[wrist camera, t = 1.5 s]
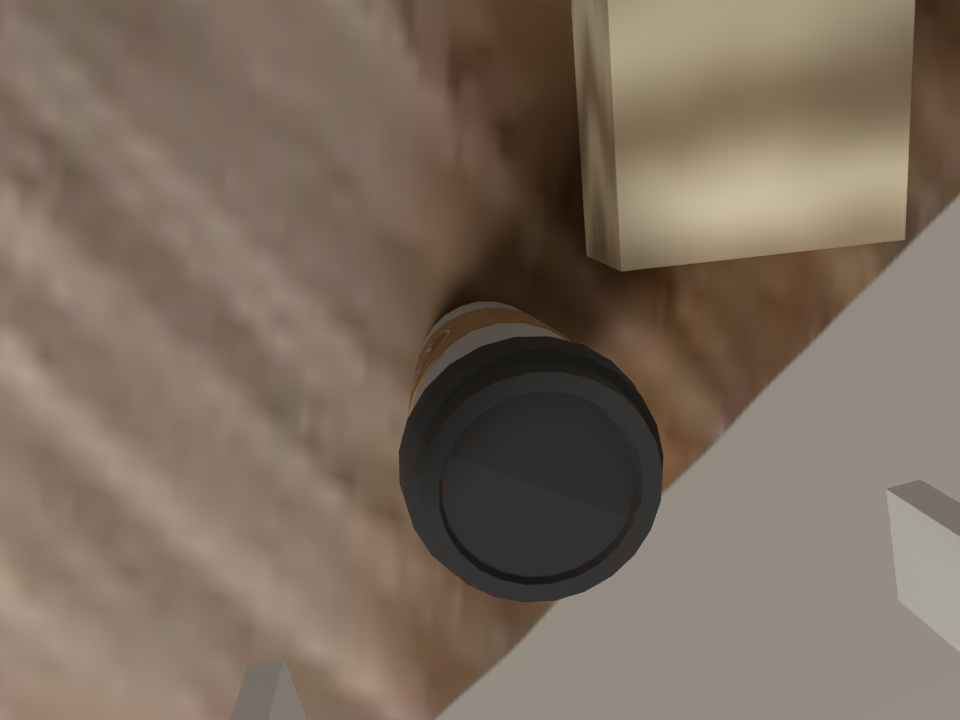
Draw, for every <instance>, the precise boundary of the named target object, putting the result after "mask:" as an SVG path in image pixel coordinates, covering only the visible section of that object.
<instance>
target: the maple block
mask: <svg viewBox="0 0 960 720" xmlns="http://www.w3.org/2000/svg"><path fill="white" fill-rule="evenodd" d="M571 9H572V25H573V42H574V58H575V75H576V91H577V108H578V124H579V141H580V157H581V174H582V190H583V207H584V223H585V240H586V256H588V257H590V258H592V259H594V260H597V261H599V262H601V263H603V264H605V265H608V266H610V267H612V268H614V269H617V270H619V271H621V272H622V271H631V270H640V269H648V268H657V267H666V266H675V265H684V264H693V263H702V262H711V261H719V260H728V259H737V258H746V257H755V256H764V255H773V254H782V253H791V252H799V251H808V250H817V249H826V248H835V247H844V246H853V245H862V244H870V243H879V242H888V241H897V240H905V224H906V201H907V178H908V155H909V132H910V109H911V86H912V63H913V40H914V17H915V0H571Z"/></svg>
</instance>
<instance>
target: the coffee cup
mask: <svg viewBox="0 0 960 720" xmlns="http://www.w3.org/2000/svg"><path fill="white" fill-rule="evenodd" d="M662 469H663V452H662V447H661V442H660V437H659V433H658V428H657V424H656V423H655V421H654V419H653V417H652V415H651V413H650V411H649V409H648V408H647V406H646V404H645V402H644V400H643V398H642V396H641V395H640V394H639V393H638V391H637V389H636V387H635V385H634V384H633V383H632V382H631V381H630V380H629V378H628V377H627V376H626V375H625V374H624V373H623V372H622V371H621V370H620V369H619V368H618V367H617V366H616V365H615V364H614V363H613V362H612V361H611V360H609V359H607V358H605V357H604V356H602V355H600V354H598V353H597V352H595V351H593V350H591V349H590V348H588V347H586V346H584V345H582V344H579V343H575V342H573V341H572V340H570V339H569V338H567V337H565V336H564V335H562V334H561V333H559V332H557V331H556V330H554V329H553V328H551V327H549V326H548V325H546V324H544V323H543V322H541V321H539V320H538V319H536V318H534V317H532V316H531V315H529V314H527V313H525V312H522V311H520V310H519V309H517V308H515V307H513V306H511V305H507V304H503V303H499V302H495V301H494V302H474V303H471V304H467V305H463V306H460V307H458V308H456V309H455V310H453V311H451V312H450V313H448V314H446V315H444V316H443V317H442V318H441V319H440V320H439V321H438V322H437V323H436V324H435V325H434V326H433V327H432V329H431V330H430V332H429V334H428V336H427V337H426V339H425V341H424V343H423V345H422V349H421V353H420V355H419V358H418V362H417V366H416V370H415V374H414V380H413V387H412V393H411V399H410V406H409V412H408V419H407V423H406V426H405V430H404V434H403V438H402V442H401V445H400V449H399V472H400V486H401V489H402V492H403V495H404V499H405V502H406V505H407V508H408V511H409V514H410V517H411V521H412V524H413V527H414V529H415V531H416V532H417V534H418V535H419V537H420V538H421V540H422V541H423V543H424V544H425V546H426V547H427V549H428V550H429V552H430V553H431V555H432V556H434V557H435V558H436V559H437V560H438V561H439V562H441V563H442V564H443V565H444V566H445V567H446V568H448V569H449V570H450V571H451V572H452V573H454V574H455V575H456V576H458V577H459V578H460V579H462V580H463V581H464V582H465V583H466V584H468V585H470V586H472V587H475V588H477V589H479V590H481V591H483V592H485V593H487V594H489V595H491V596H494V597H499V598H504V599H509V600H514V601H520V602H538V601H555V600H558V599H562V598H565V597H568V596H572V595H575V594H579V593H582V592H585V591H586V590H588V589H590V588H592V587H594V586H595V585H597V584H599V583H601V582H602V581H604V580H606V579H608V578H609V577H611V576H612V575H613V574H614V573H616V572H617V571H618V570H619V569H620V568H621V567H622V566H623V565H624V564H625V563H626V562H627V561H628V560H630V559H631V558H632V557H633V556H634V554H635V553H636V551H637V550H638V548H639V547H640V545H641V544H642V542H643V541H644V539H645V538H646V536H647V535H648V533H649V532H650V530H651V528H652V525H653V522H654V519H655V516H656V513H657V510H658V507H659V505H660V502H661V488H662V473H663V471H662Z"/></svg>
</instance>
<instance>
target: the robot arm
mask: <svg viewBox="0 0 960 720" xmlns="http://www.w3.org/2000/svg"><path fill="white" fill-rule="evenodd" d="M886 492H887V501H888V510H889V519H890V528H891V537H892V546H893V554H894V563H895V572H896V580H897V590H898V598H899V601H900V602H901V603H903V604H904V605H905V606H906V607H907V608H909V609H910V610H911V611H912V612H913V613H914V614H916V615H917V616H918V617H919V618H920V619H922V620H923V621H924V622H925V623H926V624H927V625H929V626H930V627H931V628H932V629H933V630H935V631H936V632H937V633H938V634H939V635H940V636H942V637H943V638H944V639H945V640H946V641H947V642H948V643H950V644H951V645H952V646H953V647H954V648H956V649H957V650H958V651H959V652H960V503H959V502H957V501H956V500H954V499H952V498H950V497H949V496H947V495H945V494H943V493H942V492H940V491H939V490H937V489H935V488H933V487H932V486H930V485H928V484H926V483H925V482H923V481H921V480H917V481H913V482H910V483H906V484H902V485H899V486H895V487H892V488H888V489H886ZM231 720H306V718H305V715H304V712H303V710H302V707H301V704H300V701H299V698H298V696H297V693H296V690H295V687H294V684H293V682H292V679H291V676H290V673H289V671H288V668H287V665H286V662H285V659H284V657H281V658H277V659H274V660H270V661H266V662H263V663H259V664H256V665H252V666H248V667H247V669H246V672H245V675H244V678H243V682H242V685H241V688H240V692H239V695H238V698H237V702H236V705H235V708H234V712H233V715H232V718H231Z"/></svg>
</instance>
